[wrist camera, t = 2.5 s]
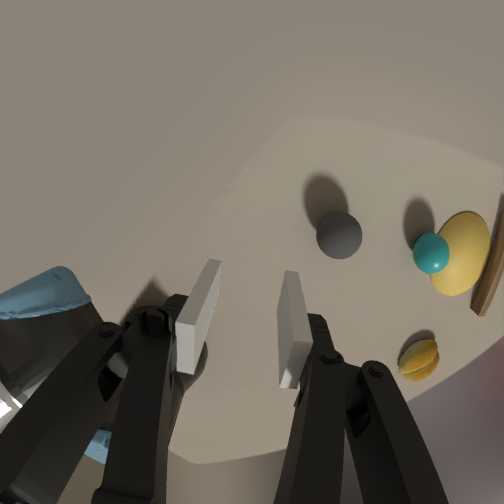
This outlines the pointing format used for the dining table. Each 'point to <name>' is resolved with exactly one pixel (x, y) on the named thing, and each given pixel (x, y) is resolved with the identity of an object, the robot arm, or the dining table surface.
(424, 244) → the ball
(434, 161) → the dining table surface
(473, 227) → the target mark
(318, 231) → the ball
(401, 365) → the bread roll
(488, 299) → the wall
